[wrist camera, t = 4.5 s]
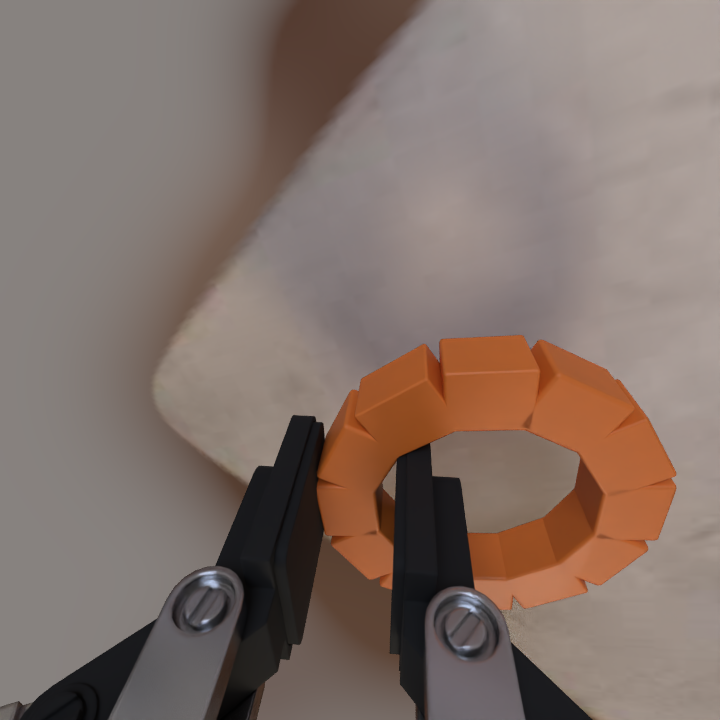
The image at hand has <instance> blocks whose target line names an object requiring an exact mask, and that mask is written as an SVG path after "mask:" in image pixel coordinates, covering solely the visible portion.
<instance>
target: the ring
mask: <svg viewBox="0 0 720 720" xmlns="http://www.w3.org/2000/svg"><path fill="white" fill-rule="evenodd" d="M439 354H440V363H439V362H438V360H437V359H436V358H435V356H434V355H433V353H432V352H431V351H430V349H429V348H428V347H427V345H425V344H423V345H421V346H419V347H417V348H415V349H414V350H412V351H410V352H408V353H407V354H405V355H403V356H401V357H399V358H398V359H396V360H394V361H392V362H390V363H389V364H387V365H385V366H383V367H382V368H380V369H378V370H376V371H374V372H373V373H371V374H369V375H367V376H365V377H364V378H362V379H361V382H360V388H359V391H357V390H351V391H350V392H349V394H348V396H347V398H346V400H345V402H344V404H343V405H342V407H341V409H340V411H339V413H338V415H337V417H336V419H335V420H334V422H333V424H332V426H331V428H330V430H329V432H328V433H327V435H326V438H325V442H324V446H323V450H322V454H321V458H320V462H319V466H318V470H317V477H318V478H319V479H318V483H317V498H318V505H319V509H320V514H321V518H322V523H323V527H324V531H325V534H326V535H327V536H332V539H331V545H332V546H333V547H334V548H335V549H336V550H337V551H338V552H340V553H341V554H342V555H343V556H344V557H345V558H346V559H347V560H348V561H349V562H350V563H351V564H352V565H354V566H355V567H356V568H357V569H358V570H359V571H360V572H361V573H362V574H363V575H364V576H366V577H367V578H368V579H370V580H372V579H375V578H378V577H380V585H381V586H382V587H385V588H387V589H391V590H392V575H393V548H394V520H395V501H394V500H393V499H392V498H391V497H390V496H389V494H388V493H387V492H386V491H385V490H384V489H383V484H382V481H383V480H384V478H385V477H386V476H387V474H388V473H389V471H390V470H391V468H392V467H393V465H394V464H395V462H396V461H397V458H399V457H400V456H402V455H405V454H407V453H409V452H411V451H413V450H416V449H418V448H420V447H422V446H424V445H427V444H429V443H431V442H433V441H435V440H437V439H440V438H442V437H444V436H446V435H448V434H451V433H453V432H455V431H495V430H526V431H528V432H530V433H533V434H535V435H537V436H540V437H542V438H544V439H547V440H549V441H551V442H554V443H556V444H558V445H561V446H563V447H565V448H568V449H570V450H572V451H575V452H577V453H578V455H579V456H580V463H579V468H578V473H577V478H576V483H575V488H574V489H573V490H572V491H571V492H570V493H569V494H568V495H567V496H566V497H565V498H564V499H563V500H562V501H561V502H560V503H559V504H558V505H556V506H555V507H554V508H553V509H552V510H551V511H550V512H549V513H548V514H547V515H546V516H545V517H543V518H540V519H537V520H534V521H531V522H529V523H526V524H523V525H520V526H517V527H514V528H511V529H508V530H505V531H502V532H499V533H467V534H468V541H469V549H470V556H471V564H472V571H473V579H474V586H475V590H477V591H479V592H481V593H483V594H485V595H486V596H487V597H488V598H489V599H491V600H492V601H493V602H494V603H495V604H496V605H497V607H498V608H499V610H511V609H512V602H513V597H514V598H515V599H516V600H517V601H518V602H519V604H520V605H521V606H522V607H523V608H524V609H527V608H530V607H534V606H538V605H542V604H546V603H549V602H553V601H557V600H561V599H564V598H568V597H572V596H576V595H579V594H583V593H587V592H588V590H587V587H586V584H585V581H587V582H590V583H592V584H595V585H602V584H603V583H604V582H606V581H607V580H609V579H610V578H611V577H613V576H614V575H615V574H617V573H618V572H620V571H621V570H622V569H624V568H625V567H626V566H628V565H629V564H630V563H632V562H633V561H635V560H636V559H637V558H639V557H640V556H641V555H643V554H644V553H645V552H647V551H648V546H647V544H646V542H645V540H657V539H658V538H659V535H660V532H661V530H662V527H663V524H664V521H665V519H666V516H667V513H668V510H669V508H670V505H671V502H672V500H673V497H674V494H675V491H676V485H675V483H674V482H673V481H672V479H671V478H672V477H675V476H676V471H675V469H674V467H673V465H672V463H671V461H670V459H669V458H668V456H667V454H666V452H665V450H664V448H663V446H662V444H661V442H660V440H659V438H658V436H657V434H656V432H655V430H654V428H653V426H652V424H651V422H650V421H649V419H648V417H647V416H646V415H645V413H644V412H643V411H642V409H641V408H640V407H639V405H638V404H637V403H636V401H635V400H634V399H633V397H632V396H631V395H630V393H629V392H628V391H627V389H626V388H625V387H624V385H623V384H622V383H621V381H620V380H618V379H617V380H614V378H613V377H612V376H611V374H610V373H609V372H608V370H607V369H604V368H602V367H600V366H598V365H596V364H594V363H592V362H589V361H587V360H585V359H583V358H581V357H579V356H576V355H574V354H572V353H570V352H568V351H566V350H564V349H561V348H559V347H557V346H555V345H553V344H551V343H548V342H546V341H544V340H539V341H537V343H536V344H535V345H534V346H533V348H532V349H531V350H530V348H529V346H528V344H527V342H526V340H525V338H524V336H522V335H514V336H494V337H474V338H453V339H441V340H440V342H439ZM584 580H585V581H584Z"/></svg>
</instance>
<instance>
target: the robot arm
mask: <svg viewBox="0 0 720 720" xmlns="http://www.w3.org/2000/svg"><path fill="white" fill-rule="evenodd" d="M324 442H325V438H324V426H323V423H322V422H316V418H315V416H297V415H293V416H292V418H291V421H290V423H289V426H288V429H287V431H286V434H285V437H284V439H283V442H282V445H281V448H280V450H279V453H278V456H277V458H276V461H275V464H274V467H271V466H258V467H257V468H256V470H255V472H254V474H253V476H252V479H251V481H250V483H249V486H248V488H247V491H246V493H245V496H244V498H243V500H242V503H241V505H240V508H239V510H238V512H237V515H236V517H235V520H234V522H233V525H232V527H231V529H230V532H229V534H228V536H227V539H226V541H225V544H224V546H223V548H222V551H221V553H220V556H219V558H218V561H217V563H216V566H210V567H205V568H202V569H199V570H196V571H194V572H192V573H191V574H189V575H187V576H186V577H184V578H183V579H182V580H181V581H180V582H179V583H178V584H177V585H176V586H175V587H174V588H173V590H172V591H171V593H170V594H169V596H168V598H167V599H166V601H165V604H164V606H163V608H162V610H161V612H160V614H159V616H158V618H157V619H156V620H154V621H153V622H151V623H150V624H148V625H146V626H145V627H143V628H142V629H140V630H139V631H137V632H135V633H134V634H132V635H131V636H129V637H128V638H126V639H125V640H123V641H122V642H120V643H118V644H117V645H115V646H114V647H112V648H111V649H109V650H108V651H106V652H105V653H103V654H102V655H100V656H98V657H97V658H95V659H93V660H92V661H90V662H89V663H87V664H86V665H84V666H83V667H81V668H80V669H78V670H76V671H75V672H73V673H72V674H70V675H69V676H67V677H66V678H64V679H63V680H61V681H59V682H58V683H56V684H55V685H53V686H52V687H51V688H49V689H48V690H47V691H45V692H44V693H43V694H42V695H40V696H39V697H38V698H37V699H36V700H35V701H34V702H33V703H29V704H26V705H22V704H21V703H20V702H19V701H18V702H15V703H11V704H8V705H5V706H2V707H0V720H257V716H258V711H259V707H260V703H261V699H262V695H263V691H264V687H265V681H267V680H268V679H269V678H270V677H271V676H273V675H274V674H275V673H276V672H277V671H278V668H279V663H280V659H286V660H289V659H290V654H291V650H292V645H293V644H297V645H300V644H301V641H302V638H303V633H304V627H305V623H306V618H307V613H308V608H309V603H310V598H311V592H312V587H313V582H314V577H315V572H316V567H317V562H318V556H319V552H320V547H321V542H322V537H323V532H324V527H323V523H322V518H321V514H320V509H319V505H318V498H317V483H318V479H319V478H318V477H317V470H318V466H319V462H320V458H321V454H322V450H323V446H324ZM390 654H399V655H400V661H399V665H400V666H399V671H400V685H401V686H402V687H403V688H404V690H405V691H406V692H407V694H408V695H409V696H410V697H411V699H412V700H413V701H414V703H415V704H416V720H592V719H591V718H590V717H589V716H588V715H587V714H586V713H585V712H584V711H583V710H582V709H581V708H580V707H579V706H578V705H576V704H575V703H574V702H573V701H572V700H571V699H570V698H569V697H568V696H567V695H566V694H565V693H564V692H563V691H562V690H561V689H560V688H559V687H558V686H557V685H555V684H554V683H553V682H552V681H551V680H550V679H549V678H548V677H547V676H546V675H545V674H544V673H543V672H542V671H541V670H540V669H539V668H538V667H537V666H536V665H534V664H533V663H532V662H531V661H530V660H529V659H528V658H527V657H526V656H525V655H524V654H523V653H522V652H521V651H520V650H519V649H518V648H517V647H516V646H514V645H513V644H512V643H511V641H510V636H509V631H508V627H507V624H506V621H505V618H504V616H503V614H502V613H501V611H500V610H499V608H498V607H497V605H496V604H495V603H494V602H493V601H492V600H491V599H489V598H488V597H487V596H486V595H485V594H483V593H481V592H479V591H477V590H475V586H474V579H473V571H472V564H471V556H470V549H469V541H468V534H467V526H466V519H465V511H464V503H463V496H462V488H461V482H460V479H459V478H452V477H436V476H432V466H431V449H430V443H429V444H427V445H424V446H422V447H420V448H418V449H416V450H413V451H411V452H409V453H407V454H405V455H402V456H400V457H399V458H397V467H396V493H395V520H394V548H393V575H392V602H391V630H390Z"/></svg>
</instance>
